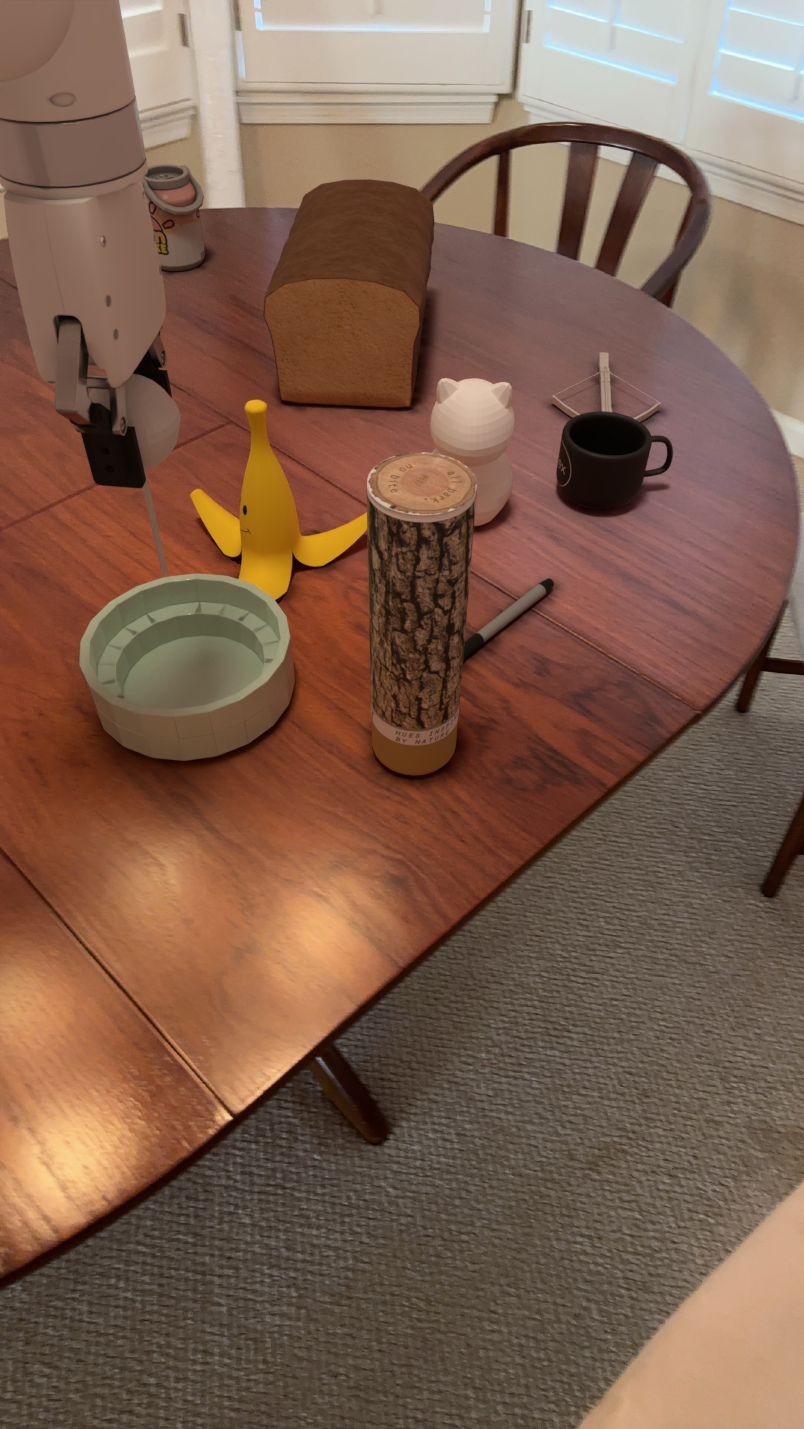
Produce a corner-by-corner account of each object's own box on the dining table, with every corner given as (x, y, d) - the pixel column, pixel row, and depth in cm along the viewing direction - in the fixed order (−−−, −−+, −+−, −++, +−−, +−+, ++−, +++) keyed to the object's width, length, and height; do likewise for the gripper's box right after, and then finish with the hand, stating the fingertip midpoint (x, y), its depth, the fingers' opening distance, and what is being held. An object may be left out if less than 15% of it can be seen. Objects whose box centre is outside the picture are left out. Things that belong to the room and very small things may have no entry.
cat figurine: (418, 536, 95) (422, 399, 84) (429, 467, 103) (434, 334, 92) (507, 543, 94) (523, 406, 83) (511, 473, 103) (526, 340, 92)
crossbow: (660, 441, 109) (664, 426, 107) (550, 434, 109) (552, 418, 108) (652, 366, 119) (656, 350, 117) (551, 359, 119) (554, 344, 118)
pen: (554, 590, 90) (556, 579, 89) (441, 681, 81) (442, 670, 80) (543, 584, 90) (545, 573, 89) (430, 673, 82) (430, 663, 81)
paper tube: (471, 737, 77) (497, 473, 58) (427, 793, 73) (441, 529, 55) (400, 704, 79) (404, 440, 61) (355, 756, 75) (344, 491, 57)
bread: (434, 300, 131) (438, 173, 119) (421, 412, 111) (425, 273, 99) (304, 295, 132) (296, 168, 120) (269, 405, 112) (254, 266, 100)
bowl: (68, 756, 75) (47, 705, 71) (131, 618, 86) (117, 566, 82) (272, 776, 74) (265, 725, 70) (310, 633, 85) (306, 581, 81)
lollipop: (139, 610, 65) (88, 414, 54) (109, 565, 69) (56, 371, 58) (221, 581, 68) (188, 386, 57) (188, 538, 71) (151, 346, 60)
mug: (564, 520, 97) (574, 460, 92) (545, 471, 103) (553, 412, 98) (677, 514, 98) (693, 453, 93) (652, 465, 104) (666, 406, 99)
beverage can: (222, 263, 139) (211, 173, 130) (176, 280, 135) (161, 189, 126) (183, 245, 143) (170, 157, 134) (138, 261, 139) (121, 172, 130)
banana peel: (237, 636, 84) (210, 475, 72) (193, 517, 96) (164, 362, 84) (409, 596, 88) (413, 437, 76) (347, 486, 100) (341, 333, 88)
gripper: (57, 89, 54) (123, 384, 67) (-82, 200, 42) (31, 530, 55) (185, 95, 53) (226, 391, 66) (80, 209, 42) (155, 540, 55)
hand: (137, 452), depth 61 cm, fingers closed on lollipop, 6 cm apart
